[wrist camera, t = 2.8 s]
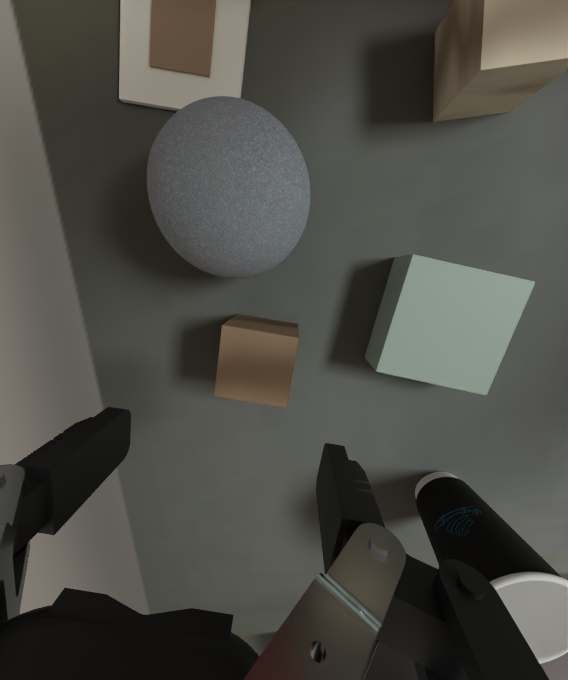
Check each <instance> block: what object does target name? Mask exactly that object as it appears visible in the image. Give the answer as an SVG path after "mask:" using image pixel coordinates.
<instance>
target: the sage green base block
mask: <svg viewBox="0 0 568 680" xmlns="http://www.w3.org/2000/svg"><path fill="white" fill-rule="evenodd" d="M534 284H535V282H533V281H529V280H525V279H520V278H516V277H511V276H507V275H502V274H498V273H493V272H489V271H485V270H480V269H476V268H471V267H467V266H462V265H458V264H454V263H449V262H445V261H440V260H436V259H431V258H427V257H422V256H418V255H414V254H412V255H406V256H400V257H394V261H393V264H392V267H391V271H390V274H389V277H388V281H387V284H386V287H385V291H384V294H383V297H382V301H381V304H380V307H379V311H378V314H377V317H376V320H375V324H374V327H373V330H372V334H371V337H370V340H369V344H368V347H367V350H366V354H365V357H364V358H365V359H366V360H367V361H368V362H369V364H370V365H371V366H372V367H373V368H374V370H375V371H376V372H381V373H385V374H390V375H394V376H399V377H404V378H408V379H413V380H417V381H422V382H427V383H431V384H436V385H440V386H445V387H450V388H454V389H459V390H463V391H468V392H473V393H477V394H482V395H487V393H488V391H489V389H490V386H491V384H492V382H493V379H494V377H495V375H496V372H497V370H498V368H499V365H500V363H501V361H502V358H503V356H504V354H505V352H506V349H507V347H508V345H509V342H510V340H511V338H512V335H513V333H514V331H515V328H516V326H517V324H518V321H519V319H520V317H521V314H522V312H523V310H524V308H525V305H526V303H527V301H528V298H529V296H530V294H531V291H532V289H533V287H534Z"/></svg>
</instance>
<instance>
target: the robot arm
mask: <svg viewBox="0 0 568 680" xmlns="http://www.w3.org/2000/svg"><path fill="white" fill-rule="evenodd" d="M130 429H131V413H130V411H129V410H125V409H119V408H113V407H108V408H106V409H105V410H103V411H102V412H100V413H99V414H98V415H96V416H95V417H90V418H88V419H85V420H83V421H80V422H78V423H75V424H74V425H73V426H71V427H69V428H68V429H66V430H65V431H64V432H63V433H61V434H59V435H58V436H56V437H55V438H54V439H53V440H50V441H49V442H47V443H46V444H44V445H43V446H41V447H40V448H39V449H37V450H36V451H34V452H33V453H31V454H30V455H28V456H27V457H25V458H24V459H22V460H21V461H19V462H18V463H16V464H15V465H12V464H7V465H0V680H364V678H365V676H366V673H367V670H368V668H369V665H370V662H371V660H372V657H373V654H374V652H375V649H376V646H377V643H378V641H380V642H382V643H383V644H385V645H387V646H389V647H390V648H392V649H394V650H395V651H397V652H399V653H401V654H402V655H404V656H406V657H408V658H409V659H411V660H413V661H414V665H415V668H416V672H417V676H418V680H549V679H548V677H547V675H546V674H545V672H544V670H543V669H542V667H541V665H540V663H539V662H538V660H537V658H536V657H535V655H534V653H533V652H532V650H531V648H530V647H529V645H528V643H527V642H526V640H525V638H524V636H523V635H522V633H521V631H520V630H519V628H518V626H517V625H516V623H515V621H514V620H513V618H512V616H511V615H510V613H509V611H508V610H507V608H506V606H505V604H504V603H503V601H502V599H501V598H500V596H499V594H498V593H497V591H496V590H495V588H494V587H493V586H492V584H491V583H490V582H489V581H488V580H487V579H486V578H485V577H484V576H483V575H482V574H481V573H480V572H478V571H477V570H476V569H474V568H473V567H471V566H470V565H468V564H466V563H464V562H462V561H459V560H455V559H447V560H444V561H443V562H442V563H441V564H440V566H439V569H436V568H434V567H432V566H430V565H427V564H425V563H423V562H421V561H419V560H417V559H415V558H413V557H411V556H409V555H408V554H406V553H405V550H404V548H403V546H402V544H401V542H400V541H399V540H398V538H397V537H396V536H395V535H394V534H393V533H392V532H390V531H389V530H388V529H386V528H385V526H384V523H383V520H382V517H381V515H380V512H379V509H378V506H377V504H376V501H375V498H374V495H373V494H372V490H371V487H370V484H369V482H368V479H367V476H366V473H365V471H364V470H363V469H362V467H361V466H360V465H359V464H358V463H357V462H356V461H351V460H348V457H347V453H346V450H345V447H344V446H341V445H335V444H329V443H325V445H324V449H323V453H322V458H321V462H320V467H319V471H318V476H317V484H316V493H317V503H318V512H319V522H320V531H321V541H322V550H323V560H324V569H325V576H324V575H323V574H322V573H320V574H319V575H317V577H316V578H315V579H314V580H313V582H312V583H311V584H310V586H309V587H308V589H307V590H306V592H305V593H304V594H303V596H302V597H301V599H300V600H299V601H298V603H297V604H296V606H295V607H294V609H293V610H292V611H291V613H290V614H289V616H288V617H287V619H286V620H285V621H284V623H283V624H282V626H281V627H280V628H279V630H278V631H277V633H276V634H275V636H274V637H273V638H272V640H271V641H270V643H269V644H268V645H267V647H266V648H265V650H264V651H263V653H262V654H261V655H260V657H259V656H258V654H257V653H256V652H255V651H254V650H253V649H252V647H251V646H249V644H248V643H246V642H245V641H244V640H243V639H241V638H240V637H239V636H237V635H235V634H233V633H232V632H231V627H232V621H233V615H230V614H224V613H218V612H212V611H205V610H199V609H193V608H191V609H184V610H177V611H170V612H164V613H157V614H150V615H143V614H140V613H138V612H136V611H134V610H132V609H131V608H129V607H127V606H126V605H124V604H122V603H120V602H119V601H117V600H115V599H113V598H112V597H110V596H108V595H106V594H100V593H93V592H87V591H82V590H75V589H68V588H64V590H63V591H62V592H61V594H60V595H59V597H58V598H57V599H56V601H55V602H54V603H53V605H51V606H46V607H42V608H38V609H34V610H31V611H29V612H26V613H23V614H20V615H19V613H20V605H21V599H22V593H23V587H24V581H25V575H26V569H27V563H28V557H29V551H30V540H31V539H32V538H33V537H34V536H35V535H36V534H37V533H45V534H50V535H55V534H56V532H57V531H58V530H59V529H60V528H61V527H62V526H63V525H64V524H65V523H66V522H67V521H68V520H69V518H70V517H71V516H72V515H73V514H74V513H75V512H76V511H77V510H78V508H79V507H80V506H81V505H82V504H83V503H84V502H85V501H86V500H87V499H88V498H89V497H90V496H91V494H92V493H93V492H94V491H95V490H96V489H97V488H98V487H99V486H100V485H101V484H102V482H103V481H104V480H105V479H106V478H107V477H108V476H109V475H110V474H111V473H112V472H113V471H114V470H115V468H116V467H117V466H118V465H119V464H120V463H121V462H122V461H123V460H124V458H125V457H126V455H127V453H128V450H129V446H130Z"/></svg>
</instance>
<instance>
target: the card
mask: <svg viewBox="0 0 568 680" xmlns="http://www.w3.org/2000/svg"><path fill="white" fill-rule="evenodd" d="M250 7H251V0H121V4H120V68H119V99H120V100H121V101H122V102H126V103H132V104H138V105H144V106H149V107H155V108H161V109H167V110H173V111H179V110H180V109H182V108H183V107H185V106H187V105H188V104H190V103H192V102H195V101H197V100H200V99H204V98H208V97H216V96H228V97H236V98H241V92H242V82H243V73H244V63H245V54H246V45H247V35H248V26H249V16H250Z"/></svg>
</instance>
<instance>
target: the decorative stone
mask: <svg viewBox="0 0 568 680" xmlns="http://www.w3.org/2000/svg"><path fill="white" fill-rule="evenodd" d="M147 191H148V197H149V202H150V206H151V210H152V213H153V216H154V218H155V221H156V223H157V225H158V227H159V229H160V231H161V232H162V234H163V236H164V237H165V239H166V240H167V242H168V243H169V244H170V245H171V247H172V248H173V249H174V250H175V251H176V252H177V253H178V254H179V255H180V256H181V257H182V258H184V259H185V260H186V261H188V262H189V263H190V264H192V265H193V266H195V267H197V268H198V269H200V270H202V271H204V272H207V273H209V274H212V275H216V276H220V277H225V278H248V277H253V276H256V275H259V274H262V273H265V272H267V271H269V270H271V269H272V268H274V267H275V266H277V265H278V264H280V263H281V262H282V261H283V260H284V259H285V258H286V257H287V256H288V255H289V254H290V253H291V251H292V250H293V249H294V248H295V246H296V244H297V243H298V241H299V239H300V238H301V236H302V233H303V231H304V229H305V226H306V223H307V219H308V214H309V208H310V181H309V175H308V170H307V167H306V164H305V161H304V158H303V155H302V153H301V151H300V149H299V147H298V145H297V143H296V142H295V140H294V138H293V137H292V136H291V134H290V133H289V131H288V130H287V129H286V128H285V127H284V125H283V124H282V123H281V122H280V121H279V120H277V119H276V118H275V117H274V116H273V115H272V114H270V113H269V112H268V111H266V110H265V109H263V108H262V107H260V106H258V105H256V104H254V103H252V102H250V101H247V100H244V99H241V98H236V97H228V96H216V97H208V98H204V99H200V100H197V101H195V102H192V103H190V104H188V105H187V106H185V107H183V108H182V109H180V110H179V111H178V112H176V113H175V114H174V115H173V116H172V117H171V118H170V119H169V120H168V121H167V122H166V123H165V125H164V126H163V127H162V129H161V130H160V132H159V133H158V135H157V137H156V139H155V141H154V143H153V146H152V148H151V151H150V154H149V158H148V164H147Z"/></svg>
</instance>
